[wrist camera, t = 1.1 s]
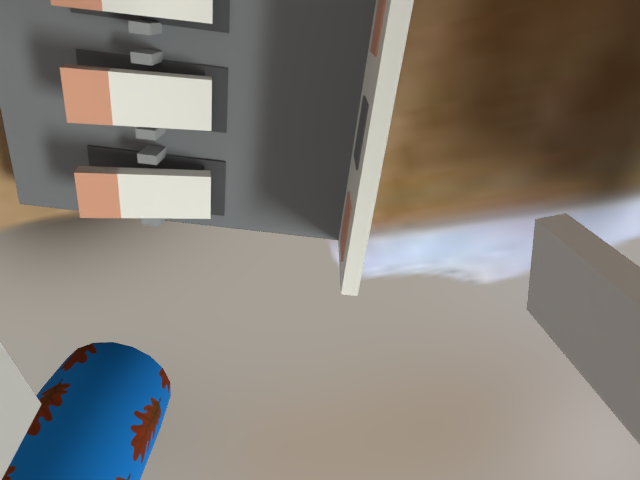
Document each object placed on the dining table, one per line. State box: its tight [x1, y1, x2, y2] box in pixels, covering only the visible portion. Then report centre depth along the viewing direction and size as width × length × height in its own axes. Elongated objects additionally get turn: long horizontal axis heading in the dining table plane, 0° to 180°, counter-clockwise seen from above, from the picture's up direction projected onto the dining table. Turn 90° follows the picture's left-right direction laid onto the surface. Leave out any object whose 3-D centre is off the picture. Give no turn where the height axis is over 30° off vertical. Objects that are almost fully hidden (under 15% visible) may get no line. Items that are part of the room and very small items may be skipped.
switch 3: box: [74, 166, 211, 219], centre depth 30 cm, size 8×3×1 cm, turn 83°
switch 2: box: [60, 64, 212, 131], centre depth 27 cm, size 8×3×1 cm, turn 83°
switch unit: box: [0, 0, 414, 296], centre depth 27 cm, size 24×18×10 cm
